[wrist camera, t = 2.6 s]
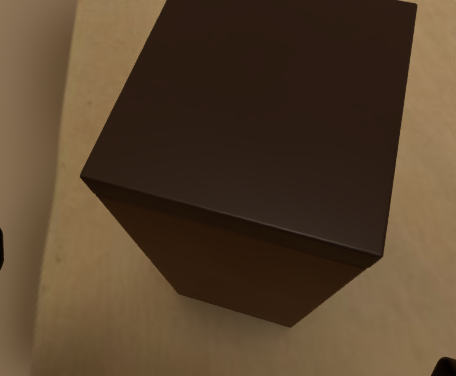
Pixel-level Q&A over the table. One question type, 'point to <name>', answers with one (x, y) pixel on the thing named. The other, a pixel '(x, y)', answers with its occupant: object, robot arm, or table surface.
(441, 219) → the table surface
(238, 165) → the brown wooden block
